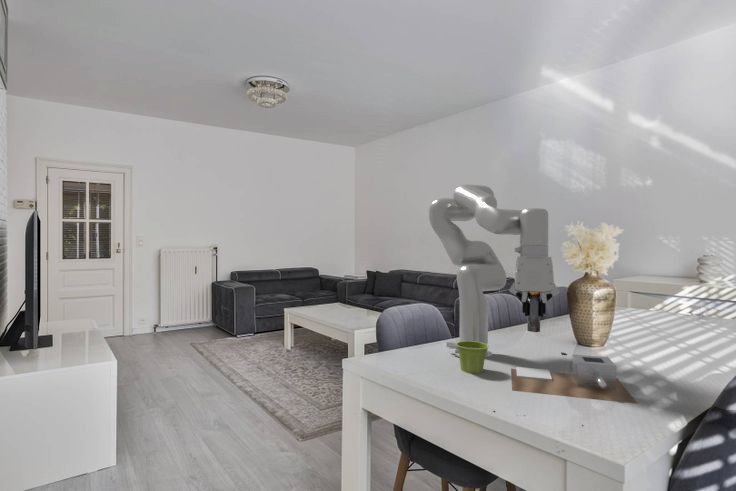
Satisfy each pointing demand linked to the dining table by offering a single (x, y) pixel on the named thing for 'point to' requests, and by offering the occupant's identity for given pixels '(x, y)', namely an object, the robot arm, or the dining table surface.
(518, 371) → the mat
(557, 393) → the walnut board
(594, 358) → the block
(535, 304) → the key peg
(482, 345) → the plant pot
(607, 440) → the dining table surface
